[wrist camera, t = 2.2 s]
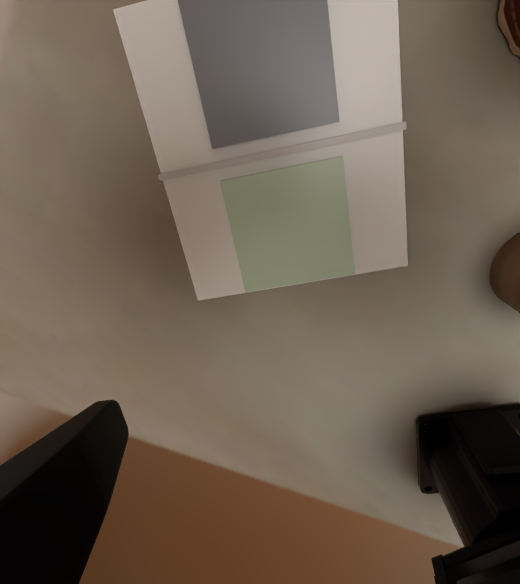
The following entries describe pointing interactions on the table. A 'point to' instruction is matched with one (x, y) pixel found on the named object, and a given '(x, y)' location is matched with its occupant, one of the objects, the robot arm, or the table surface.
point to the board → (274, 135)
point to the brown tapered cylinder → (507, 273)
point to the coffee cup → (510, 23)
